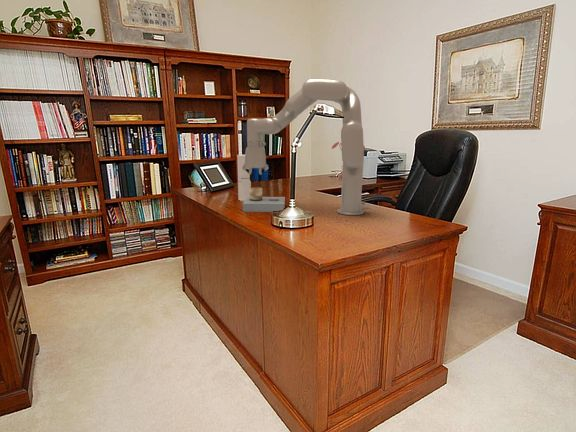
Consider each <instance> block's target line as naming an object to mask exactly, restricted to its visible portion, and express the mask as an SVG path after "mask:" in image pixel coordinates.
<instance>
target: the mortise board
mask: <svg viewBox="0 0 576 432" xmlns="http://www.w3.org/2000/svg"><path fill="white" fill-rule="evenodd" d="M262 198H263V200H262V201H250V197H247V198H246V199H245V201H242V202H243V203H242V212H247V213H248V212H249V213H250V212H252V213H253V212H255V213H274V212H273V211H279V210H283V209H284V208H285V207H286V206H285V205H286V197H285V196H262ZM284 210H285V209H284Z"/></svg>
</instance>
